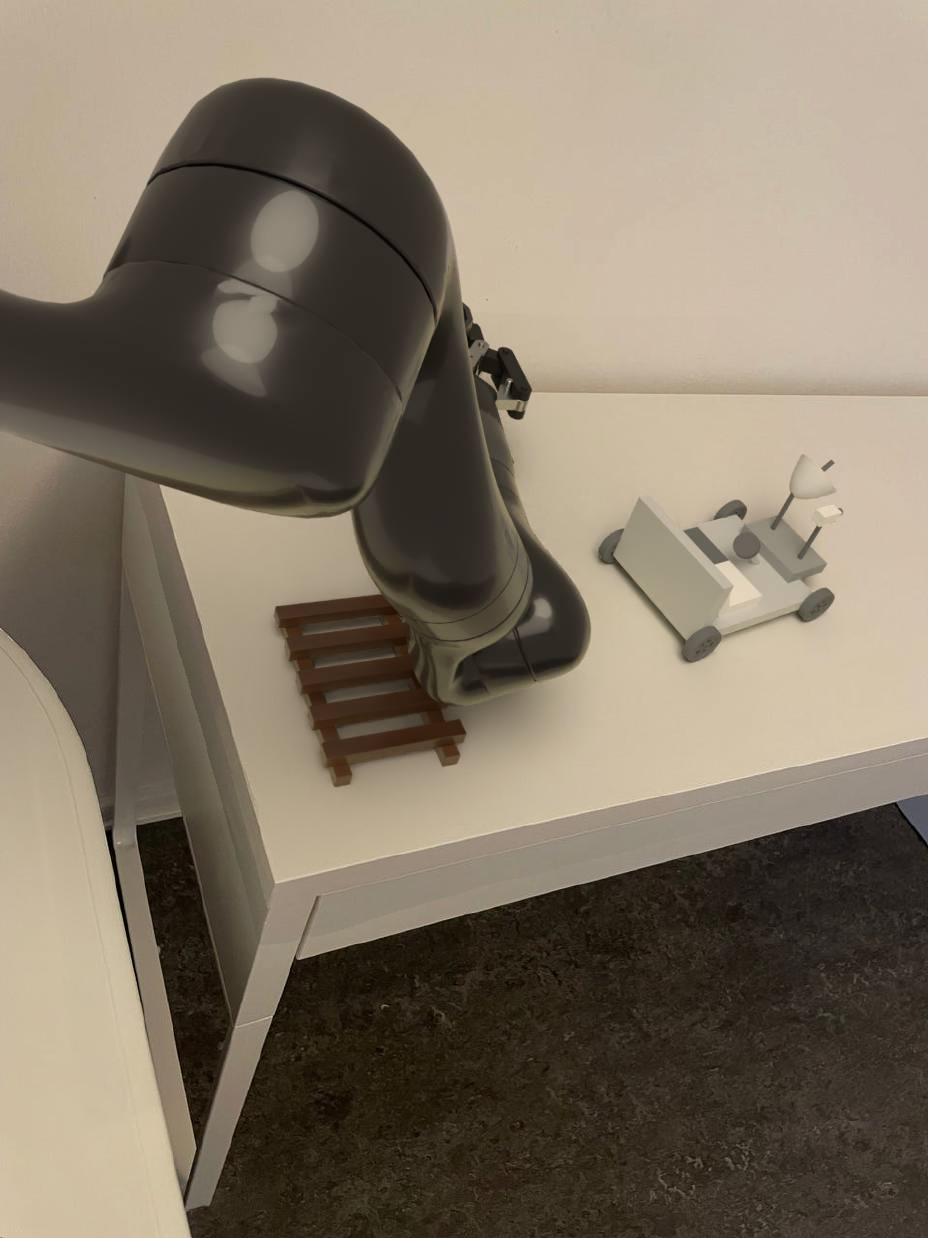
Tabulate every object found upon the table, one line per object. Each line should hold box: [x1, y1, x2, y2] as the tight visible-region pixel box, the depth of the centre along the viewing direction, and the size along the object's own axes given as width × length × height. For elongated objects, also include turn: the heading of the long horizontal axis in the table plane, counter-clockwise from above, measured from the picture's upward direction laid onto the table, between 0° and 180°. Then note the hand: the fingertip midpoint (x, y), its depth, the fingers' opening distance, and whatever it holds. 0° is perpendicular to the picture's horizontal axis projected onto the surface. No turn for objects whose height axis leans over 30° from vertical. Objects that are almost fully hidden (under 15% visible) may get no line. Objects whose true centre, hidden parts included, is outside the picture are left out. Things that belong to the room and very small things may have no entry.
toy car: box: [598, 453, 844, 663], centre depth 79 cm, size 18×10×12 cm
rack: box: [273, 593, 467, 788], centre depth 66 cm, size 14×9×2 cm, turn 21°
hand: (420, 321), depth 81 cm, fingers closed on pot, 6 cm apart
